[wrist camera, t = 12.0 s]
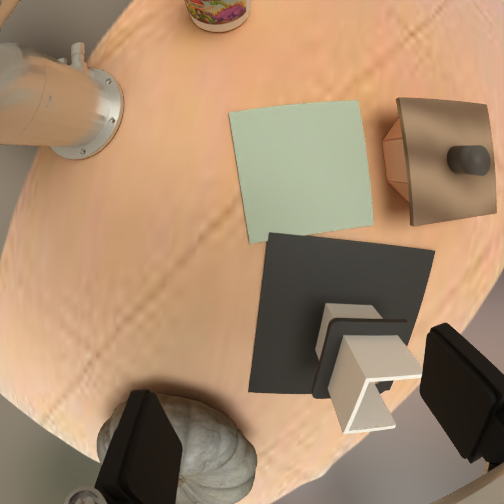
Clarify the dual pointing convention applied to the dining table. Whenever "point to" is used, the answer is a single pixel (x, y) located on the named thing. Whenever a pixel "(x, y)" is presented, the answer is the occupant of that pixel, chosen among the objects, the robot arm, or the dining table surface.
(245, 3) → the milk bottle
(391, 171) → the terracotta bowl
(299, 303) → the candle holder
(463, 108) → the walnut lid
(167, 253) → the dining table surface
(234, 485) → the gourd
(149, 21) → the dining table surface
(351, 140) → the sage mat
